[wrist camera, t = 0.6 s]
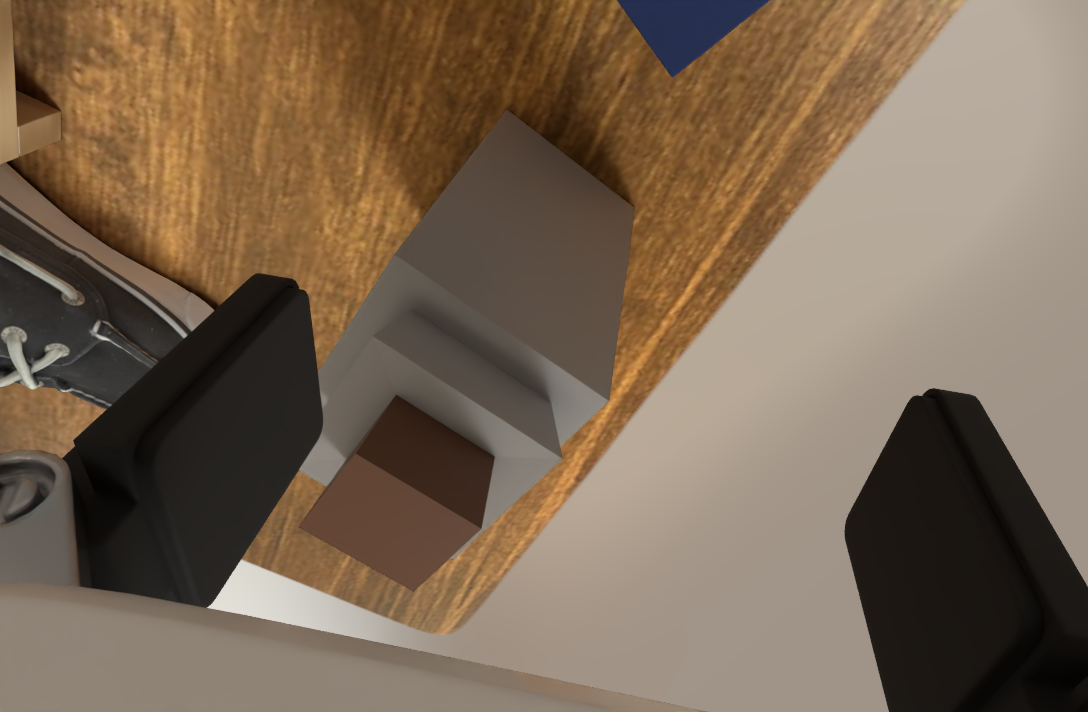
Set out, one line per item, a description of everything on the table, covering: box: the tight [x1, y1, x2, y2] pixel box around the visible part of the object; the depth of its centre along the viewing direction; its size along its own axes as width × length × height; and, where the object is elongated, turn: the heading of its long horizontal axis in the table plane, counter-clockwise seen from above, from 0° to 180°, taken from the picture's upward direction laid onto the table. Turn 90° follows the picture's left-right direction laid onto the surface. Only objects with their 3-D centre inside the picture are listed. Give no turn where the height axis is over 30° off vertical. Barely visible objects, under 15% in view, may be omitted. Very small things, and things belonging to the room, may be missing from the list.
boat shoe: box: [0, 162, 215, 410], centre depth 33 cm, size 24×9×8 cm, turn 41°
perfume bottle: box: [299, 110, 635, 592], centre depth 23 cm, size 7×7×18 cm
